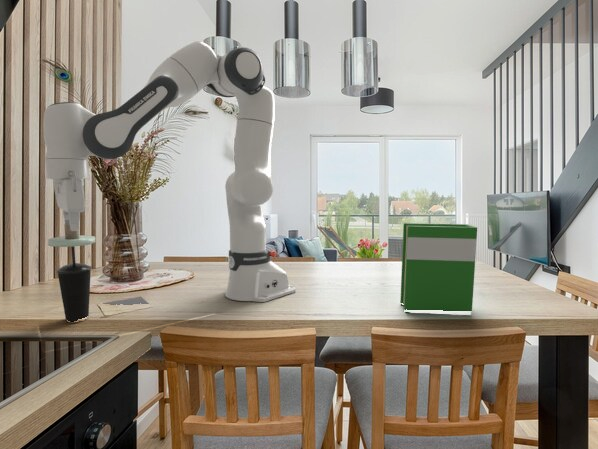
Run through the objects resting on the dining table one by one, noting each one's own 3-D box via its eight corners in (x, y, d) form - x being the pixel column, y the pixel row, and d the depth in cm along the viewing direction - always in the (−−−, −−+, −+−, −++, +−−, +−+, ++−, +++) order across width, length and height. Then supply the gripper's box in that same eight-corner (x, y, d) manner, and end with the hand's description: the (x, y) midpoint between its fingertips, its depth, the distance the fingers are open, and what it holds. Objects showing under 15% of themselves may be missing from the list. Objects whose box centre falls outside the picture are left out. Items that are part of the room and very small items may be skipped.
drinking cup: (79, 328, 91) (73, 246, 88) (52, 325, 92) (46, 245, 90) (101, 317, 98) (97, 241, 96) (76, 314, 100) (71, 240, 97)
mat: (141, 298, 114) (141, 296, 114) (153, 309, 105) (153, 307, 104) (96, 305, 107) (96, 304, 107) (105, 318, 97) (105, 316, 97)
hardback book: (404, 313, 103) (408, 226, 100) (400, 304, 110) (403, 223, 108) (471, 316, 101) (477, 227, 98) (462, 307, 108) (468, 224, 106)
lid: (91, 238, 100) (90, 221, 99) (99, 244, 92) (98, 225, 91) (46, 242, 94) (45, 223, 93) (50, 248, 86) (49, 228, 85)
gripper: (90, 171, 85) (93, 232, 86) (77, 172, 101) (80, 223, 102) (57, 170, 81) (61, 234, 82) (48, 172, 97) (52, 225, 98)
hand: (71, 228), depth 92 cm, fingers open, 8 cm apart
